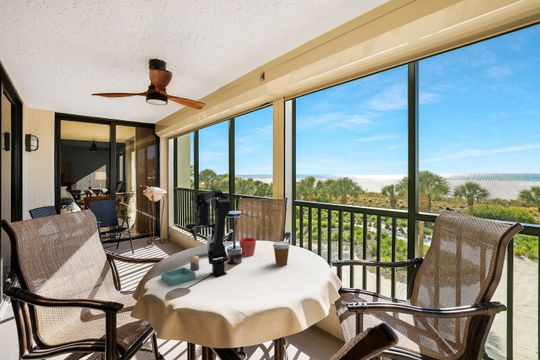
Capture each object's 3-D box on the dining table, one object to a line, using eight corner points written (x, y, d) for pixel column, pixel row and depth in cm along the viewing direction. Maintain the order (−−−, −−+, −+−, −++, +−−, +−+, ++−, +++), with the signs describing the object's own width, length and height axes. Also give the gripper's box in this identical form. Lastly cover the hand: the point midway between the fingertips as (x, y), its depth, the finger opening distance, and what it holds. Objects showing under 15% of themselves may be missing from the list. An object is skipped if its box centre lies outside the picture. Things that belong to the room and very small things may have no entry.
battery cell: (200, 269, 134) (200, 256, 134) (192, 271, 131) (192, 258, 131) (196, 267, 137) (196, 254, 137) (188, 269, 134) (188, 256, 134)
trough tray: (195, 278, 121) (195, 272, 121) (172, 286, 113) (172, 279, 113) (184, 272, 129) (184, 266, 129) (161, 279, 121) (161, 273, 121)
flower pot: (255, 257, 154) (255, 241, 154) (238, 257, 154) (238, 241, 154) (256, 252, 165) (256, 237, 165) (240, 252, 165) (240, 237, 165)
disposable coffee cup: (270, 266, 138) (270, 244, 138) (276, 260, 147) (276, 240, 147) (286, 268, 135) (286, 246, 135) (292, 262, 144) (291, 242, 144)
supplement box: (214, 257, 156) (214, 236, 156) (206, 254, 160) (206, 235, 160) (223, 254, 161) (223, 234, 161) (215, 252, 166) (215, 233, 166)
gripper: (222, 211, 152) (222, 237, 152) (191, 212, 151) (191, 237, 151) (219, 214, 140) (219, 242, 141) (185, 214, 140) (186, 242, 140)
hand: (203, 240), depth 143 cm, fingers open, 9 cm apart
